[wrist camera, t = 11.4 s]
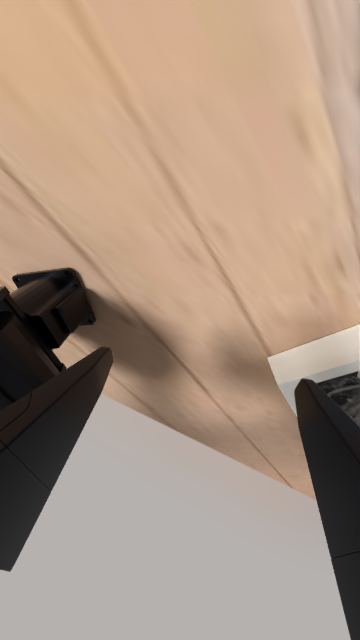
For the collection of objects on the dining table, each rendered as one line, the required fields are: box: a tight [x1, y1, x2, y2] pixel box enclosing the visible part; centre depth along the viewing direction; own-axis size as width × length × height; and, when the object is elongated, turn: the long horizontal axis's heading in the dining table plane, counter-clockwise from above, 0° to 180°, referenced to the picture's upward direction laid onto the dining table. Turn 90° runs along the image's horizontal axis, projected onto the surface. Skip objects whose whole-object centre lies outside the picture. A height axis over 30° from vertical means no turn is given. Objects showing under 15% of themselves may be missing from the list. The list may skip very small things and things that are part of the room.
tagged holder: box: [267, 324, 360, 416], centre depth 24 cm, size 11×12×4 cm
